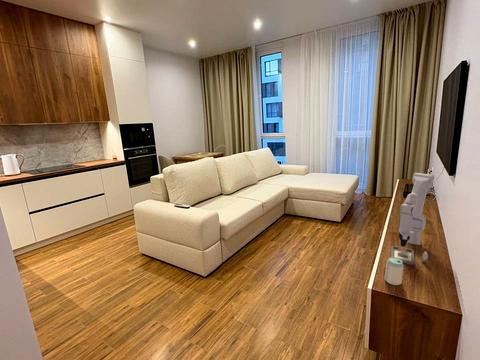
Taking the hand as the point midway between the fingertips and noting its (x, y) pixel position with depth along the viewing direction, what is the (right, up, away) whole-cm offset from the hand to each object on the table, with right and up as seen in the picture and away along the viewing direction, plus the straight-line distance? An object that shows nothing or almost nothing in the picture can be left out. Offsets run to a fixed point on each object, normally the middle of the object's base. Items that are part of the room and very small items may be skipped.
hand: (402, 245), depth 150 cm
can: (-20, -12, -24) cm, 34 cm away
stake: (+5, -7, -10) cm, 13 cm away
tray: (-2, -6, -3) cm, 7 cm away
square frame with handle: (-2, -5, -3) cm, 6 cm away
